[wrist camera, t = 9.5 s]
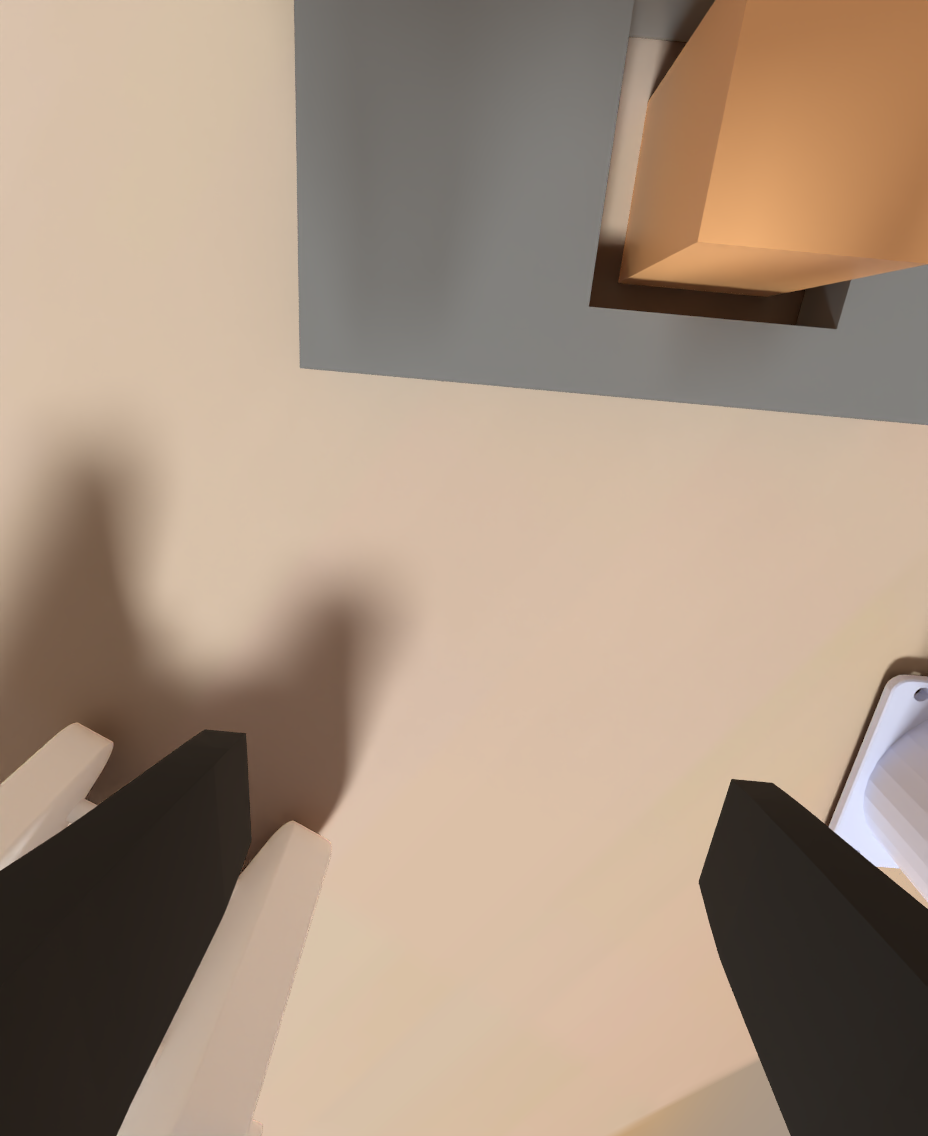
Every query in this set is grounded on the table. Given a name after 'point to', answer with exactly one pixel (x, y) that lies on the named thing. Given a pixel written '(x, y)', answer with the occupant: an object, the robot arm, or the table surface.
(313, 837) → the cable organizer
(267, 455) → the table surface
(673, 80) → the orange rectangular block
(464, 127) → the socket plate
